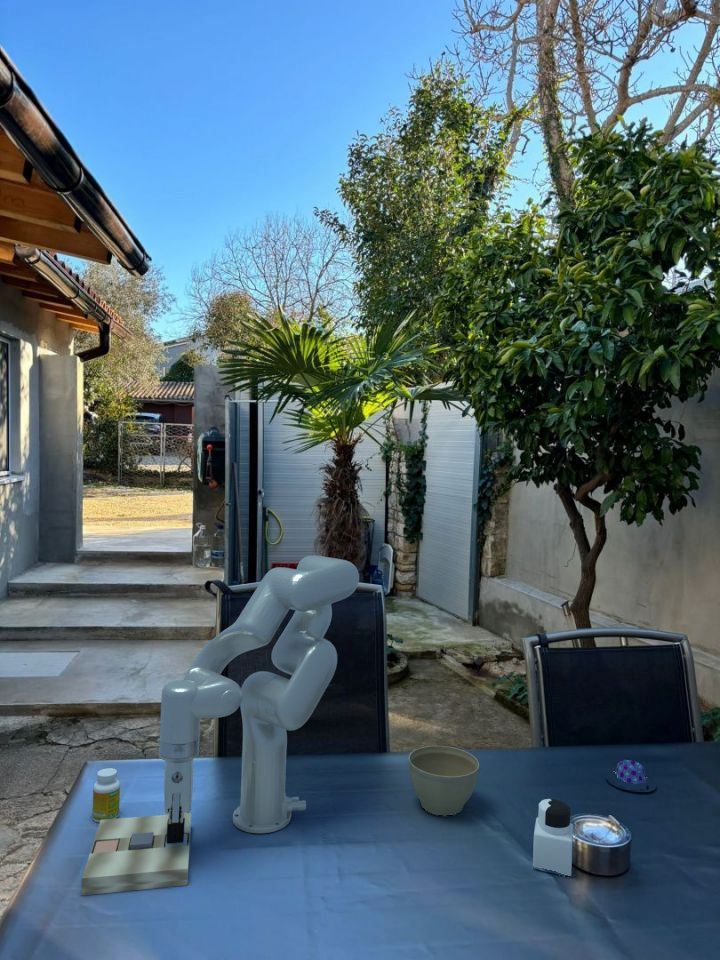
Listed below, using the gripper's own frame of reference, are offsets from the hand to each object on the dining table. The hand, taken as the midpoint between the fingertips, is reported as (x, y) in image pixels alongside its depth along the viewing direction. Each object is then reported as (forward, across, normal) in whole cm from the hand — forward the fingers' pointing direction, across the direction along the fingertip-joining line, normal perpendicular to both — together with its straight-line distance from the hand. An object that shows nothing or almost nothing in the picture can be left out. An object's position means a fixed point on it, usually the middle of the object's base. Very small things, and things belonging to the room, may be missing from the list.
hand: (175, 840), depth 128 cm
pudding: (+2, +14, -111) cm, 112 cm away
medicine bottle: (+3, -15, -73) cm, 74 cm away
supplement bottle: (+3, +17, +15) cm, 23 cm away
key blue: (+2, 0, 0) cm, 2 cm away
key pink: (+2, 0, +13) cm, 13 cm away
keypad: (+3, 0, +6) cm, 7 cm away
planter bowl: (+3, +10, -59) cm, 60 cm away
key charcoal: (+1, 0, +6) cm, 6 cm away
